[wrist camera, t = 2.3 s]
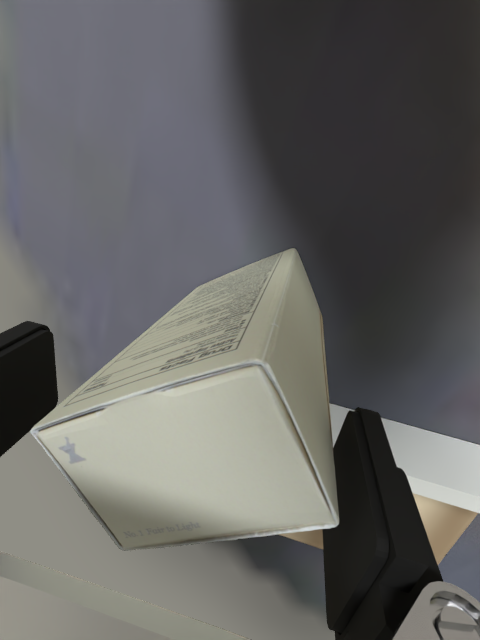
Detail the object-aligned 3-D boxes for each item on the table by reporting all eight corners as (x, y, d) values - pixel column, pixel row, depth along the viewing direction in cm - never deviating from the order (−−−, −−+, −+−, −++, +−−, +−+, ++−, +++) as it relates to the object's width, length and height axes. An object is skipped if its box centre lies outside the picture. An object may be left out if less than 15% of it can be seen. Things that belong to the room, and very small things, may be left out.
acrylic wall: (493, 448, 18) (536, 513, 15) (484, 461, 19) (524, 526, 15) (168, 358, 21) (137, 395, 17) (167, 370, 21) (137, 409, 18)
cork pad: (489, 483, 19) (495, 493, 19) (421, 574, 23) (423, 584, 23) (264, 417, 21) (263, 425, 20) (238, 513, 25) (237, 521, 25)
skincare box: (227, 348, 20) (115, 557, 9) (194, 283, 18) (16, 431, 7) (327, 315, 17) (348, 540, 6) (298, 239, 16) (262, 358, 5)
